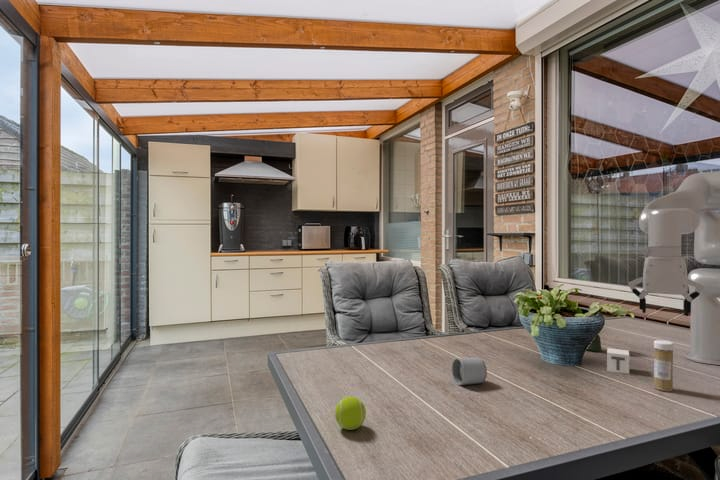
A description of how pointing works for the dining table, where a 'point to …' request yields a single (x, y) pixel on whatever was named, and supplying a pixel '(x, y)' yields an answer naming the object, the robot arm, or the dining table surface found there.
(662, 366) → the sprinkles bottle
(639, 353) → the dining table surface
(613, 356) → the lettered cube
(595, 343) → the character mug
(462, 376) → the ceramic mug
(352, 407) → the tennis ball
